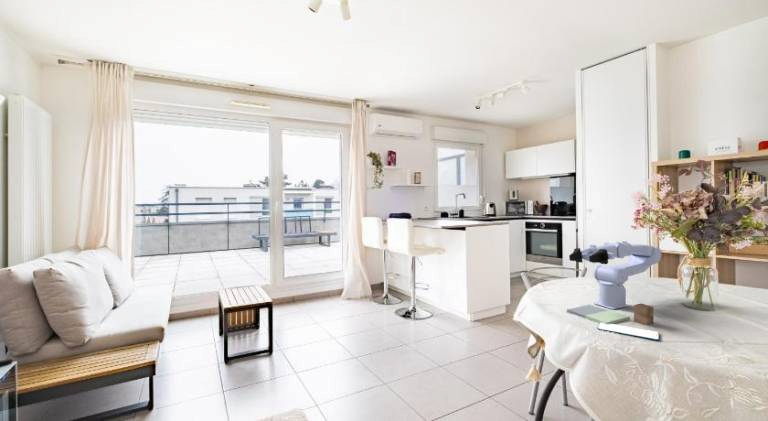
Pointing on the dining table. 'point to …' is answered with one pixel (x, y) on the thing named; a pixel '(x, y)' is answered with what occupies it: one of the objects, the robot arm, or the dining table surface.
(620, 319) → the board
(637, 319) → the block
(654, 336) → the smartphone
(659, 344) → the dining table surface
